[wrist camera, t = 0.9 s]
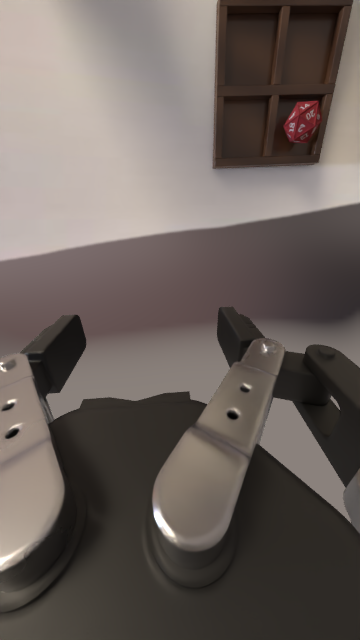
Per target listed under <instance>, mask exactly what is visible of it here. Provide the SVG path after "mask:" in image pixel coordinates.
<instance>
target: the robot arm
mask: <svg viewBox="0 0 360 640" xmlns="http://www.w3.org/2000/svg"><path fill="white" fill-rule="evenodd" d="M217 337H218V341H219V344H220V346H221V348H222V350H223V353H224V355H225V357H226V360H227V362H228V364H229V367H230V370H229V371H228V373H227V374H226V376H225V378H224V379H223V381H222V382H221V384H220V386H219V387H218V389H217V390H216V392H215V393H214V395H213V397H212V398H211V400H210V401H209V403H208V405H207V404H205V403H202V402H199V401H195V400H190V394H189V392H177V393H164V394H160V395H157V396H153V397H149V398H146V399H142V400H139V401H131V400H124V399H117V398H96V399H84V400H83V401H82V404H81V406H80V408H79V409H77V410H74V411H71V412H68V413H67V414H64V415H62V416H60V417H59V418H57V419H55V420H54V417H53V415H52V412H51V409H50V406H49V404H48V401H47V399H46V396H47V394H49V393H60V391H61V389H62V388H63V386H64V384H65V383H66V381H67V379H68V377H69V376H70V374H71V372H72V371H73V369H74V367H75V365H76V364H77V362H78V360H79V359H80V357H81V355H82V354H83V351H84V350H85V348H86V338H85V334H84V331H83V327H82V324H81V320H80V317H79V316H78V315H65V316H64V315H63V316H61V317H60V318H59V319H58V320H57V321H56V322H55V323H54V324H53V325H51V326H49V327H48V328H46V329H44V330H43V331H42V332H41V333H40V334H39V336H37V337H36V338H35V339H34V341H32V342H31V343H30V344H29V345H28V346H26V348H24V349H23V350H22V351H21V352H20V353H16V354H10V355H6V356H4V357H1V358H0V640H360V368H359V367H358V366H357V365H355V364H354V363H353V362H352V361H351V360H350V359H348V358H347V357H346V356H345V355H344V354H342V353H341V352H340V351H338V350H336V349H334V348H331V347H328V346H324V345H310V346H308V347H307V348H306V352H305V354H302V353H294V352H288V351H286V350H285V347H284V346H283V345H282V344H281V343H279V342H277V341H275V340H272V339H266V338H265V337H264V336H263V335H262V333H261V332H260V331H259V330H258V329H257V328H256V326H255V325H254V324H253V323H252V321H251V320H250V319H249V318H248V317H246V316H244V315H242V314H240V315H239V314H238V313H237V312H236V310H235V309H234V308H233V307H220V308H219V312H218V326H217ZM331 395H332V396H333V397H334V399H335V400H336V401H337V403H338V404H339V407H340V410H339V409H338V408H337V407H336V405H335V404H334V403H333V402H332V400H331V399H330V398H331ZM273 397H275V398H280V399H285V400H290V401H293V403H294V405H295V406H296V408H297V410H298V411H299V413H300V414H301V416H302V418H303V419H304V421H305V422H306V424H307V426H308V427H309V429H310V430H311V432H312V434H313V435H314V437H315V439H316V440H317V442H318V444H319V445H320V447H321V448H322V450H323V452H324V453H325V455H326V456H327V458H328V460H329V461H330V463H331V465H332V466H333V468H334V469H335V471H336V473H337V474H338V476H339V478H340V479H341V481H342V482H343V484H344V486H345V487H346V489H345V490H344V494H343V500H344V505H345V508H346V510H347V512H348V515H349V517H350V519H351V523H350V522H349V521H348V520H347V519H346V518H345V517H344V516H343V515H342V514H341V513H340V512H339V511H337V510H336V509H335V508H334V507H333V506H331V504H329V503H328V502H327V501H326V500H325V499H323V498H322V497H321V496H320V495H319V494H317V493H316V492H315V491H314V490H312V489H311V488H310V487H309V486H308V485H307V484H305V483H304V482H303V481H302V480H301V479H299V478H298V477H297V476H296V475H295V474H293V473H292V472H291V471H290V470H289V469H287V468H286V467H285V466H284V465H283V464H281V463H280V462H279V461H278V460H277V459H276V458H274V457H273V456H272V455H271V454H269V453H268V452H267V451H266V450H265V449H264V448H262V447H261V446H260V445H259V444H260V441H261V437H262V433H263V430H264V427H265V423H266V420H267V417H268V413H269V410H270V407H271V403H272V400H273Z"/></svg>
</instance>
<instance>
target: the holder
mask: <svg viewBox="0 0 360 640" xmlns="http://www.w3.org/2000/svg"><path fill="white" fill-rule="evenodd" d="M352 4H353V0H218V2H217V18H216V60H215V101H214V143H213V169H216V168H241V167H266V166H292V165H313V164H316V163H318V162H319V158H320V153H321V148H322V144H323V139H324V134H325V130H326V125H327V120H328V116H329V111H330V106H331V102H332V97H333V93H334V88H335V83H336V78H337V74H338V69H339V64H340V60H341V55H342V50H343V46H344V41H345V36H346V32H347V27H348V22H349V18H350V13H351V8H352ZM307 101H319V106H320V111H321V116H322V122H321V123H320V125H319V126H318V128H317V129H316V130H315V132H314V133H313V135H312V136H311V138H310V139H309V141H308V142H307V143H294V142H289V141H288V138H287V135H286V132H285V129H284V124H285V123H286V121H287V119H288V118H289V116H290V114H291V113H292V111H293V109H294V108H295V106H296V104H297V102H307Z"/></svg>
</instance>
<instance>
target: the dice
mask: <svg viewBox="0 0 360 640" xmlns="http://www.w3.org/2000/svg"><path fill="white" fill-rule="evenodd" d="M321 122H322V116H321V111H320V106H319V101H307V102H297V104H296V106H295V108H294V109H293V111H292V113H291V114H290V116H289V118H288V119H287V121H286V123H285V124H284V129H285V132H286V135H287V138H288V141H289V142H294V143H307V142H308V141H309V139H310V138H311V136H312V135H313V133H314V132H315V130H316V129H317V128H318V126H319V125H320V123H321Z"/></svg>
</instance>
